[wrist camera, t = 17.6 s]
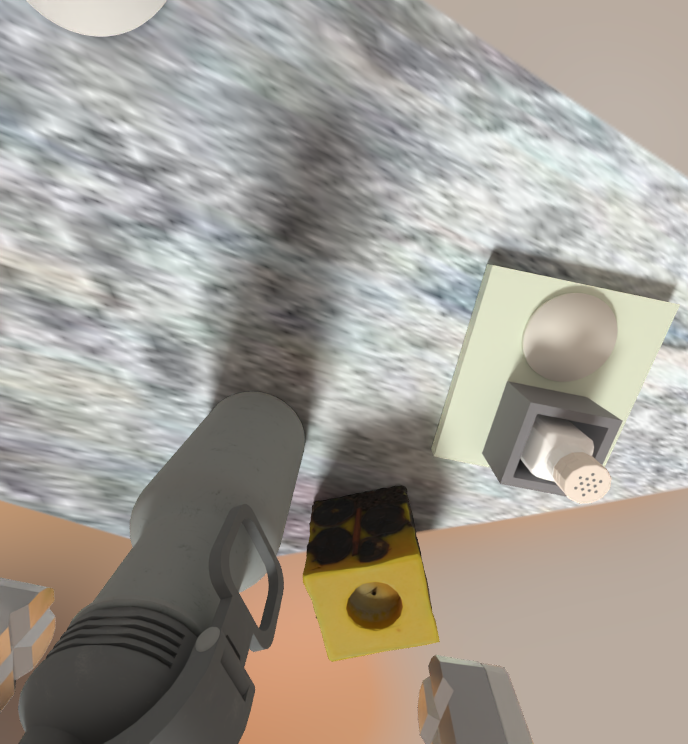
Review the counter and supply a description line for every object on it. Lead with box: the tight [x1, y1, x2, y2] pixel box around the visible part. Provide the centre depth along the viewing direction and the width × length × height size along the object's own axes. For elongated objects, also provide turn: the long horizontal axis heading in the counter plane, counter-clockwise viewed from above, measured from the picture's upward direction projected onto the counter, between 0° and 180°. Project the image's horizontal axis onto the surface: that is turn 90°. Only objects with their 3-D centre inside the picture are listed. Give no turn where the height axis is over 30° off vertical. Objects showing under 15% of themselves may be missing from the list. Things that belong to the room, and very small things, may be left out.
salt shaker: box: [520, 414, 612, 504], centre depth 32 cm, size 4×4×10 cm
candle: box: [303, 486, 439, 662], centre depth 38 cm, size 10×10×10 cm
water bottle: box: [18, 391, 305, 744], centre depth 26 cm, size 10×10×28 cm
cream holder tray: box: [431, 264, 680, 496], centre depth 33 cm, size 18×16×6 cm
